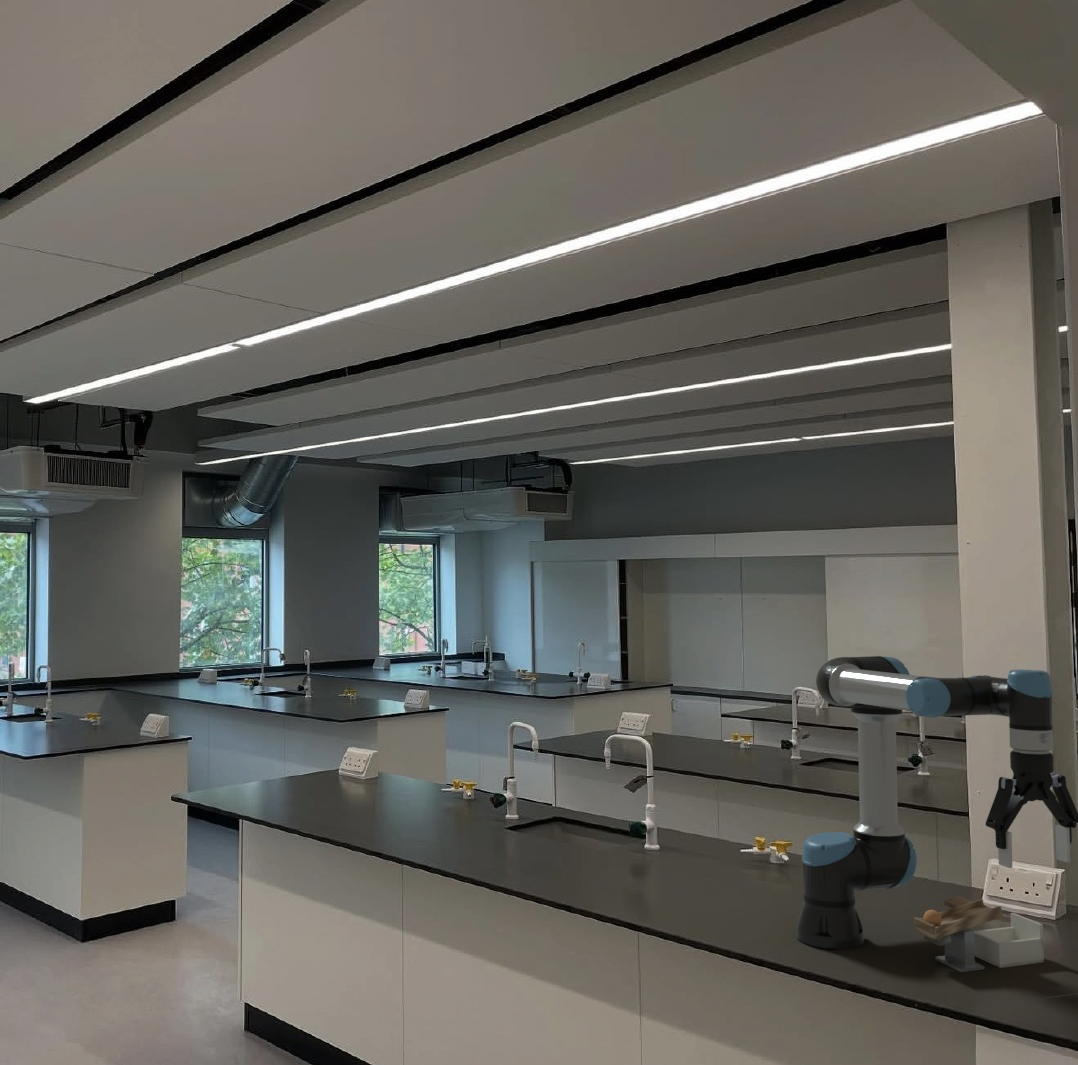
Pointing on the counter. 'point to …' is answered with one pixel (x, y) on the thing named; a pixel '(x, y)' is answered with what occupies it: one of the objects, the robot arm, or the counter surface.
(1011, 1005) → the counter surface
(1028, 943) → the grey open bin
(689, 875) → the counter surface
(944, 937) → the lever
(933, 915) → the ball
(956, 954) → the fulcrum
